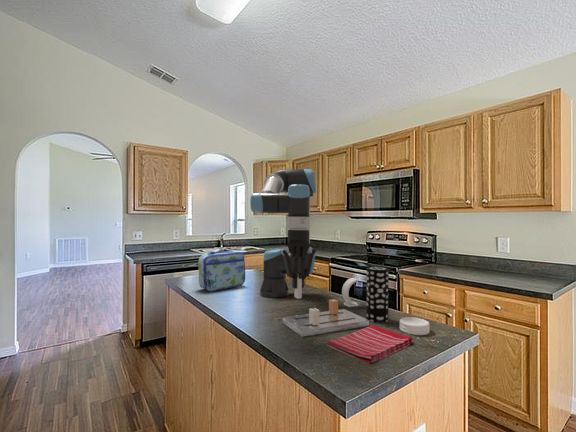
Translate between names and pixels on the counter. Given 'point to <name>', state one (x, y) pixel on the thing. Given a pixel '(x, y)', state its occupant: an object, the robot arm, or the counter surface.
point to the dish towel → (370, 343)
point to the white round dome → (414, 326)
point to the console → (325, 322)
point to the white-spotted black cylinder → (377, 294)
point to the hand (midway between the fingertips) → (298, 297)
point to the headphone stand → (346, 292)
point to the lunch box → (221, 270)
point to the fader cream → (314, 316)
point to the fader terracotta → (333, 306)
